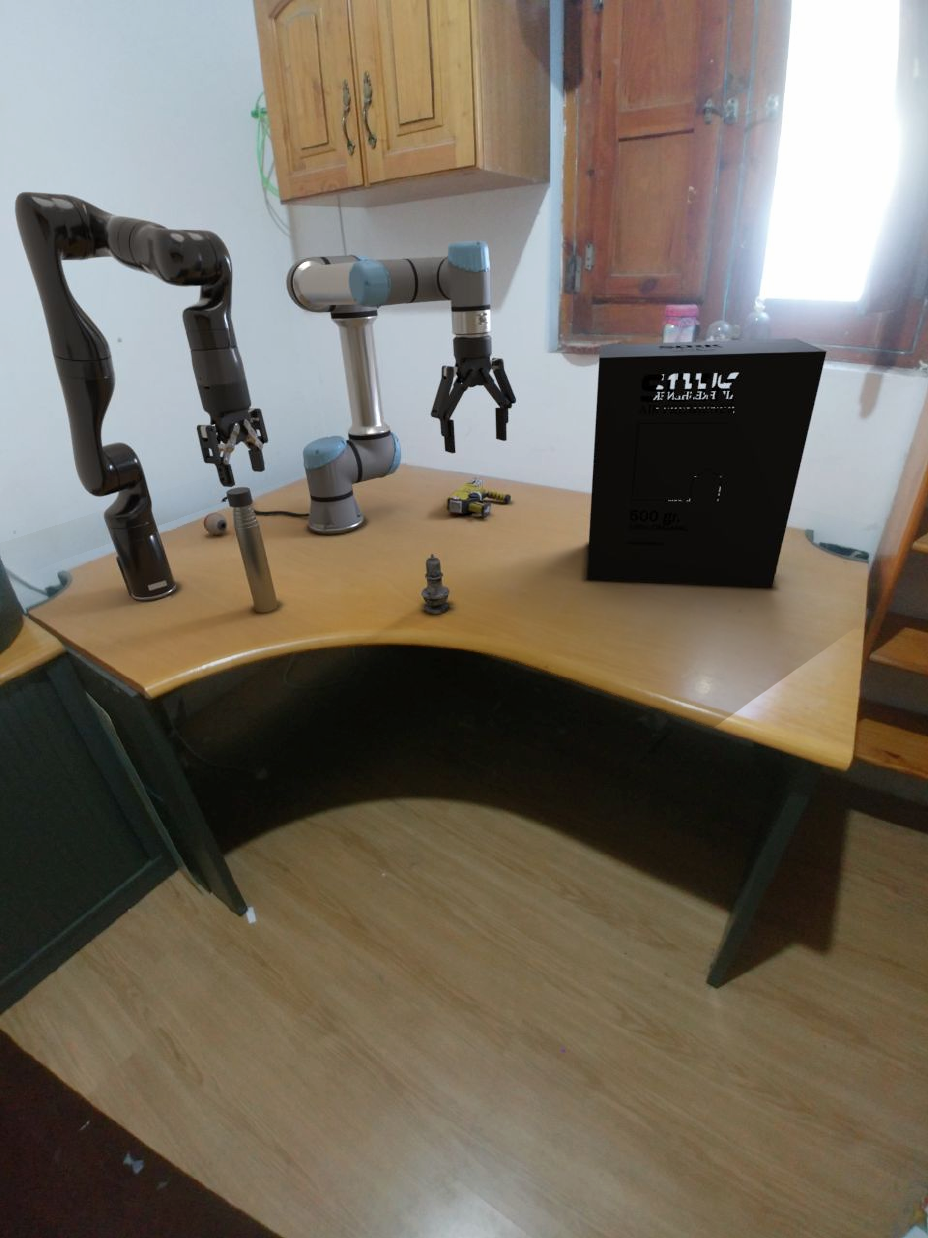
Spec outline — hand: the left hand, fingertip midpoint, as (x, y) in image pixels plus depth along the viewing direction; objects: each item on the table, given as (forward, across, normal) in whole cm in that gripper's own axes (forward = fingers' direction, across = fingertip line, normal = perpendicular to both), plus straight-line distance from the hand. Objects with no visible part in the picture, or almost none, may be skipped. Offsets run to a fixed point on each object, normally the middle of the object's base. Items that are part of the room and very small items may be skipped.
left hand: (244, 478), depth 104 cm
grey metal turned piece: (+31, -16, +27) cm, 44 cm away
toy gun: (+31, -79, +19) cm, 87 cm away
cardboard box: (+31, -48, +73) cm, 92 cm away
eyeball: (+31, -42, -48) cm, 71 cm away
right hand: (+3, -38, +30) cm, 48 cm away
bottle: (+31, -8, -9) cm, 33 cm away
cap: (+8, -8, -9) cm, 15 cm away
